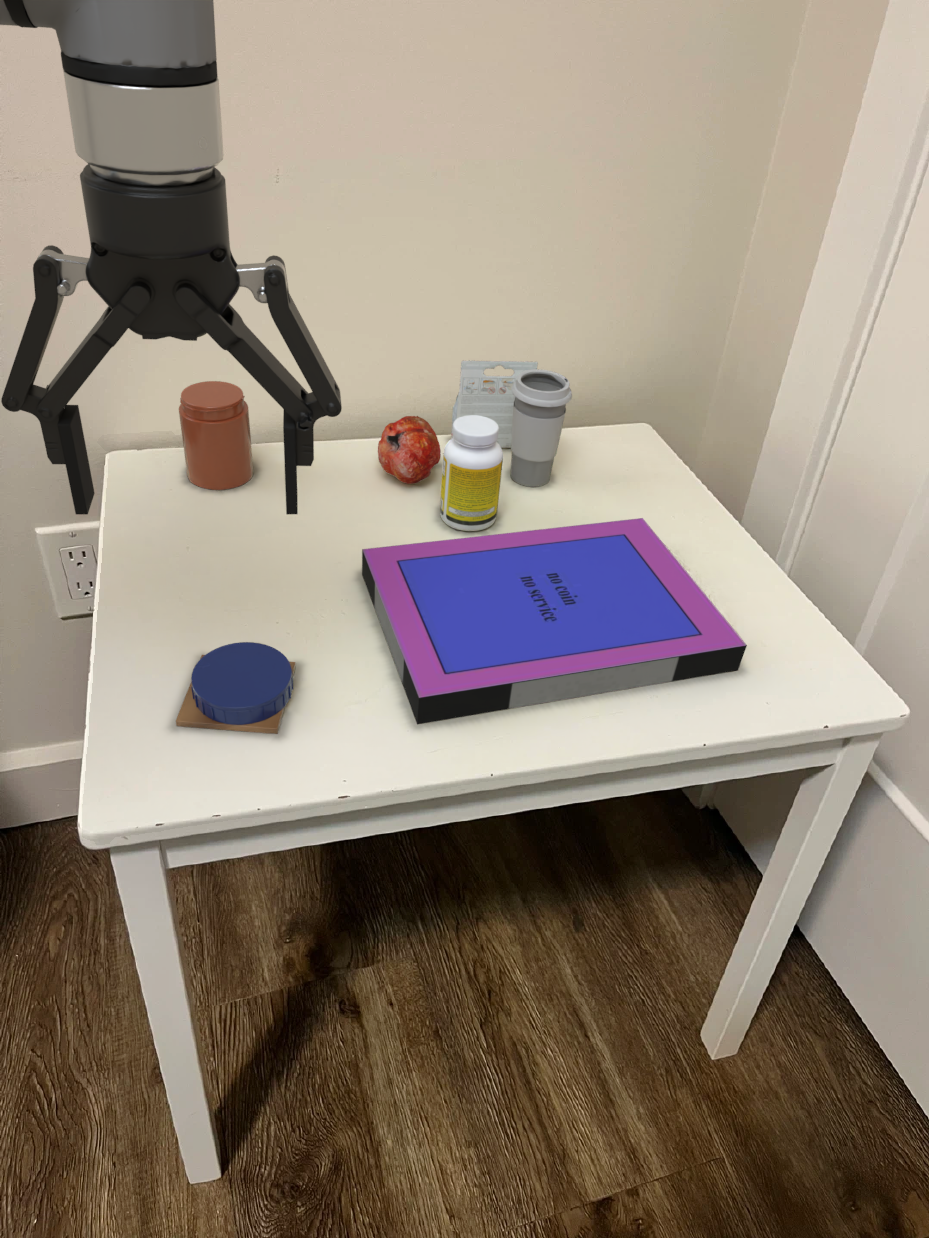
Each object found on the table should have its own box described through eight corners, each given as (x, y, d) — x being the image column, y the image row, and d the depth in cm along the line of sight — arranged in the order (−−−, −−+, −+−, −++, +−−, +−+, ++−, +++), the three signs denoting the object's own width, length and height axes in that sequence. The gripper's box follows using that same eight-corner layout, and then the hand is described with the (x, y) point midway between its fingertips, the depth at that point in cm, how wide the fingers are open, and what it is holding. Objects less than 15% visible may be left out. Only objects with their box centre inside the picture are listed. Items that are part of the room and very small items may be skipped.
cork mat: (176, 726, 72) (175, 720, 72) (202, 659, 78) (201, 654, 78) (277, 734, 72) (277, 728, 72) (295, 667, 78) (295, 661, 78)
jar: (179, 487, 99) (168, 406, 93) (196, 455, 105) (187, 376, 99) (245, 492, 100) (238, 411, 94) (259, 460, 105) (253, 382, 99)
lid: (301, 662, 78) (300, 645, 77) (282, 729, 72) (281, 712, 71) (207, 654, 78) (205, 637, 77) (181, 721, 72) (178, 703, 70)
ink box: (449, 439, 113) (455, 350, 105) (523, 439, 114) (534, 351, 107) (452, 450, 110) (459, 360, 103) (527, 450, 112) (539, 361, 105)
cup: (566, 491, 105) (582, 394, 97) (510, 494, 103) (523, 395, 96) (547, 460, 110) (562, 366, 103) (494, 463, 109) (505, 367, 101)
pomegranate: (400, 472, 110) (346, 444, 102) (436, 422, 108) (384, 390, 100) (435, 506, 106) (381, 480, 98) (473, 455, 104) (422, 424, 96)
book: (362, 549, 88) (642, 517, 96) (361, 574, 89) (637, 541, 98) (418, 697, 72) (746, 645, 80) (417, 724, 74) (738, 670, 82)
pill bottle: (507, 524, 98) (519, 431, 92) (460, 539, 96) (468, 444, 89) (474, 497, 102) (483, 406, 95) (428, 511, 99) (433, 418, 92)
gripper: (379, 163, 54) (370, 477, 67) (-78, 134, 50) (8, 474, 63) (390, 198, 48) (377, 533, 61) (-126, 168, 44) (-21, 535, 57)
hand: (190, 504), depth 62 cm, fingers open, 13 cm apart
